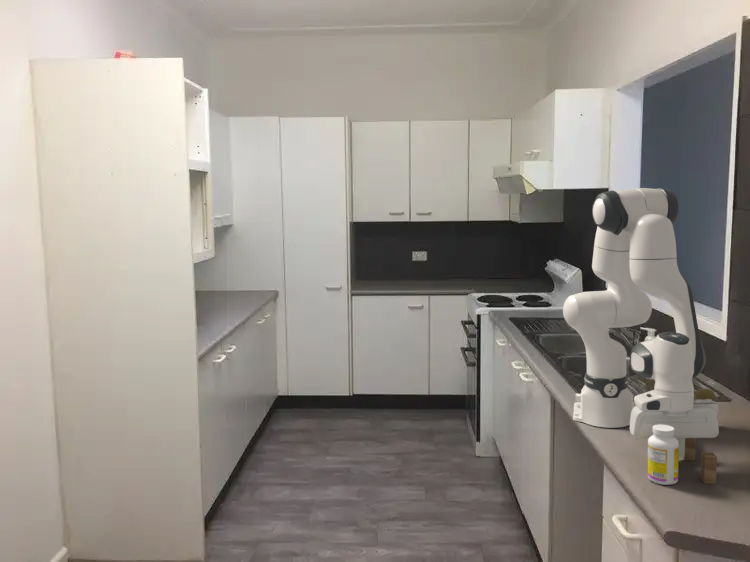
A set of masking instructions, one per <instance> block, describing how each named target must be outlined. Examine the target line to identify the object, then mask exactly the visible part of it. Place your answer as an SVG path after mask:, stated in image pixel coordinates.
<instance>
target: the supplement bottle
mask: <svg viewBox="0 0 750 562" xmlns="http://www.w3.org/2000/svg"><path fill="white" fill-rule="evenodd" d="M653 434H654V435H652V436H651V437H650V438H649V439H647V478H648V480H650V482H652V483H654V484H658V485H663V486H664V485H665V486H670V485H675V484H677V483H678V482H679V460H680V458H679V443H678V440H677V439H676V438H674V437H673V435H674V428H673V427H672V426H669V425H663V424H658V425H654V426H653Z"/></svg>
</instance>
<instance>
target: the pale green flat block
mask: <svg viewBox="0 0 750 562" xmlns="http://www.w3.org/2000/svg"><path fill="white" fill-rule="evenodd" d="M682 457H685V438H683V443H682V445H681V446H680V448H679V459H683V458H682Z"/></svg>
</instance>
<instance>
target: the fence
mask: <svg viewBox="0 0 750 562" xmlns="http://www.w3.org/2000/svg"><path fill="white" fill-rule="evenodd" d="M696 439H697V438H685V457H682V458H681V459H682V460H684V461H696V444H697V443H696V441H697V440H696ZM700 456H701V459H700V461H701V462H700V480H702V483H704V484H713V485H714V484H715V485H716V484H717V468H718V467H717V465H718V464H717V463H718V456H717V455H716V454H715V453H714V452H708V451H707V452H705V451H704V452H703V451H702V452H701V455H700Z"/></svg>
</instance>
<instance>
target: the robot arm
mask: <svg viewBox="0 0 750 562" xmlns="http://www.w3.org/2000/svg"><path fill="white" fill-rule="evenodd" d="M591 211H592V213H591V214H592V219H593V221H594V224H595V225H596V226H597V227H596V232H595V237H594V243H593V253H592V261H591V262H592V263H591V268H592V271H593V273H594V275H595V276H597V278H599V279H600V280H603V281H604V282H607V288H606V290H593V291H583V292H579V293H578V292H577V293H575V294H571V295H569V296H568V297H566V299H565V301H564V303H563V306H562V315H563V318H564V320H565V322H566V323H567V325H568V326H569V327H571V328H572V329H574V330H575V331H576V332H577V334H579V337H581V339H582V341H583V343H584V344H583V345H584V347H585V354H586V355H585V356H586V372H585V373H584V374H585V375H584V385H583V387H582V389H581V390H580V391H581V392H580V393H577V392H576V393H575V402H574V403H573V410H574V411H572V412H573V413H572V420H573V421H575V422H581V423H584V424H587V425H589V426H594V427H598V428H607V429H608V428H609V429H616V428H624V427H628V426H629V433H630V434H631V435H632V436H633V437H634V438H635V439H638V440H639V439H643V440H644V439H647V440H648V439H649V438H650V437H651V436H652V435H654V434H653V426H654V425H658V424H663V425H669V426H672V427H673V428H674V435H673V437H674V438H676V439H677V440H678V443H679V448H680V446H681V445H682V443H683V438H696V439H714V438H717V437H718V435H719V433H720V431H719V421H718V417H717V416H718V414H719V405H718V402H716V401H715V400H714V401H712V400H711V399H705V400H701V399H695V388H694V387H695V386H694V382H693V378H696V377H697V376H698V375H699V374H701V372H702V371H703V369H704V368H705V366H706V362H707V356H706V352H705V350H704V346H703V344H702V340H701V337H700V332H699V325H698V319H697V313H696V308H695V307H696V306H695V300H694V296H693V292H692V288H691V285H690V283H689V281H688V280H687V278H685V277H683V276H682V274H681V273H680V270H679V266H678V262H677V261H678V259H677V244H676V243H677V242H676V236H675V230H674V225H673V224H674V223H675V222H676V220H677V218H678V215H679V211H680V202H679V199H678V197H677V195H676V194H675V192H674V191H672V190H670V189H666V188H662V187H661V188H660V187H657V188H650V187H649V188H647V187H639V188H638V187H635V188H629V189H628V188H627V189H620V190H619V189H618V190H607V191H603V192H601V193H599V194H597V196H596V197H595V199H594V201H593V203H592V210H591ZM645 292H646V293H645ZM647 293H648V294H650V295H653V296H657V297H659V298H661V299H663V300H665V301H667V303H669V305H670V307H671V309H672V310H671V311H672V315H673V321H674V327H675V331H666V332H665V331H664V332H661V333H659V334H657V335H656V336H655V338H653V339H649V340H646V341H645V340H644V341H640V342H637V343H636V344H634V346H633V347H632V349H631V351H630V355H629V365H630V369H631V370H632V372H633V373H634V374H635V375H636V376H638V377H639V378H641V379H647V380H653V381H654V387H653V388H654V389H651V390H649V391H647V392H646V391H645V392H643V393H640V394H637V395H635V396H634V395H633V393H632V392H631V391H630V390H629V389H628V388H629V387H628V385H629V377H628V374H627V356H628V355H627V350H626V347H625V346H624V344H623V345H622V343H621V342H619V341H617V340H615V339H613V338H611V337H610V332H609V330H610V329H615V328H630V327H634V326H638V325H642V324H644V323H647V322H648V321H649V320H650V317H651V315H652V311H653V307H652V301H651V299H650V297H649V296H648V294H647ZM634 404H635V406H634Z"/></svg>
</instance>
